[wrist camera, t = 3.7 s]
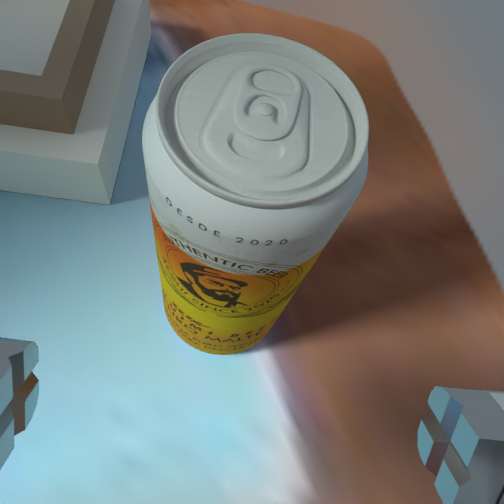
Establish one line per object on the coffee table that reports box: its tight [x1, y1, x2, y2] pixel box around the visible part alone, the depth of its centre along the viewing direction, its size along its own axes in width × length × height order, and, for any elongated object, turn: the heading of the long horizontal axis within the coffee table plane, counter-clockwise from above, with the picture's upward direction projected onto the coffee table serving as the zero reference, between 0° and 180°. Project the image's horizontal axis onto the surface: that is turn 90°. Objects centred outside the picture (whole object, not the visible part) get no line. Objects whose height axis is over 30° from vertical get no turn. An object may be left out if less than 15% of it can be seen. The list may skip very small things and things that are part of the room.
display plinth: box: [0, 0, 152, 205], centre depth 25 cm, size 14×14×6 cm
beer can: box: [142, 33, 369, 355], centre depth 18 cm, size 6×6×15 cm
